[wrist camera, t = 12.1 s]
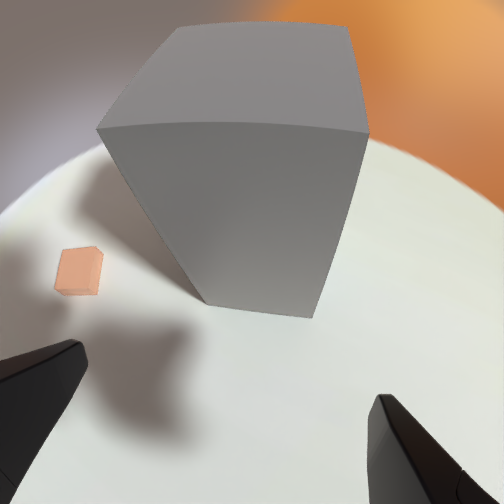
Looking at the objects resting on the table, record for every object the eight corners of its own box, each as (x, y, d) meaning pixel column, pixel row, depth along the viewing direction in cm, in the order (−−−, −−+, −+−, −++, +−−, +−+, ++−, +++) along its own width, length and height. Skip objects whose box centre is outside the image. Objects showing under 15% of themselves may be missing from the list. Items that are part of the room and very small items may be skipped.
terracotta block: (99, 296, 19) (88, 288, 18) (66, 297, 19) (54, 289, 18) (105, 256, 20) (95, 246, 19) (73, 259, 20) (62, 250, 19)
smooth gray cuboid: (311, 318, 17) (369, 133, 5) (207, 304, 18) (95, 128, 6) (319, 226, 19) (347, 27, 8) (227, 217, 20) (178, 27, 9)
